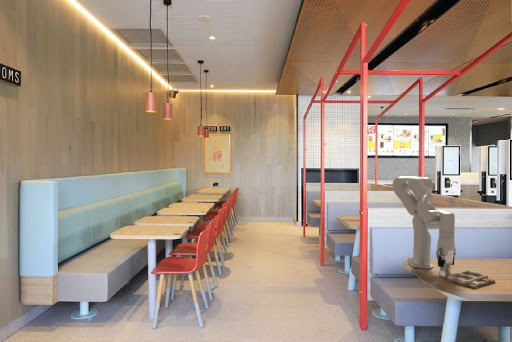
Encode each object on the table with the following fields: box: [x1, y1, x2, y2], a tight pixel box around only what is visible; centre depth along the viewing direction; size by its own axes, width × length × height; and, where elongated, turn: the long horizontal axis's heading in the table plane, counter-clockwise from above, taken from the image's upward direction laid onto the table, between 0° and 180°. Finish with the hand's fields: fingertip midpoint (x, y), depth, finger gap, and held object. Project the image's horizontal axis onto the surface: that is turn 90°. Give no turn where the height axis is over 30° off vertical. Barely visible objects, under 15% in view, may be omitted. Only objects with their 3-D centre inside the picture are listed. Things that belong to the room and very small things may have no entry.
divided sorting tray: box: [444, 270, 496, 290], centre depth 191 cm, size 15×21×3 cm
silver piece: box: [438, 249, 453, 278], centre depth 200 cm, size 7×7×15 cm
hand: (446, 265), depth 200 cm, fingers open, 9 cm apart
